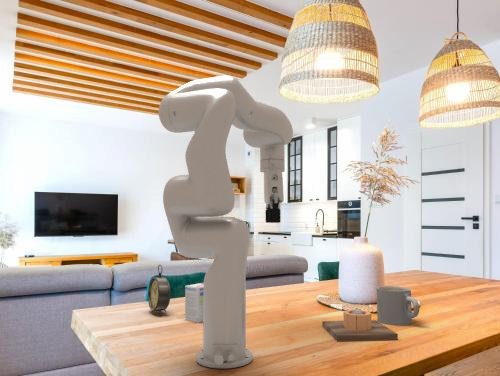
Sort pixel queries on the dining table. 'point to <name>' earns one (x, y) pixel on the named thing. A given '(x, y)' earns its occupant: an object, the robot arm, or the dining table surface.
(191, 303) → the light bulb box
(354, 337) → the post base
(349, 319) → the ring
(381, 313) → the coffee mug
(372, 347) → the dining table surface
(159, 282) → the alarm clock
